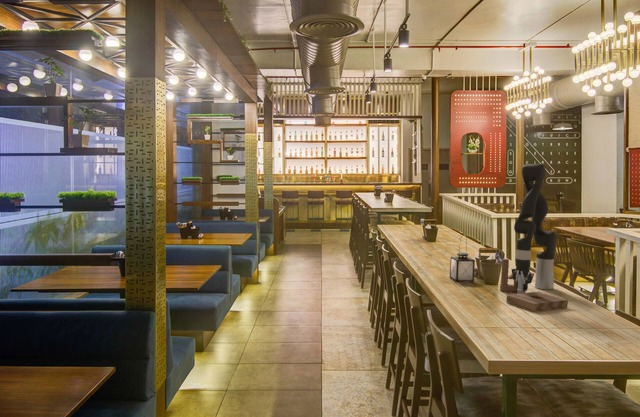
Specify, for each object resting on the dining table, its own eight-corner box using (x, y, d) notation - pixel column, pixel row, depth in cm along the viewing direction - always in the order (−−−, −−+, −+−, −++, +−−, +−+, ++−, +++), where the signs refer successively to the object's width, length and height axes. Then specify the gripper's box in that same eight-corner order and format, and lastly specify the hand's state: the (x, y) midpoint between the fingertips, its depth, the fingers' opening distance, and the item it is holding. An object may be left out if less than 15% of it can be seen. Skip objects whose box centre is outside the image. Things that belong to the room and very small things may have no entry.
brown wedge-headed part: (521, 292, 277) (522, 260, 275) (500, 291, 279) (502, 259, 277) (519, 291, 280) (521, 259, 279) (499, 289, 282) (501, 258, 281)
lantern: (466, 277, 313) (468, 233, 311) (474, 281, 302) (476, 235, 300) (449, 277, 312) (451, 233, 310) (456, 281, 301) (458, 235, 299)
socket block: (538, 298, 264) (539, 291, 263) (567, 307, 247) (568, 299, 247) (506, 302, 255) (506, 294, 255) (534, 312, 239) (534, 303, 238)
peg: (521, 295, 271) (522, 273, 270) (527, 297, 267) (528, 275, 266) (515, 295, 269) (516, 273, 268) (521, 297, 265) (522, 275, 264)
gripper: (539, 260, 261) (537, 292, 263) (518, 255, 275) (516, 286, 276) (528, 260, 259) (526, 293, 260) (508, 256, 272) (506, 287, 273)
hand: (521, 289), depth 268 cm, fingers closed on peg, 4 cm apart
